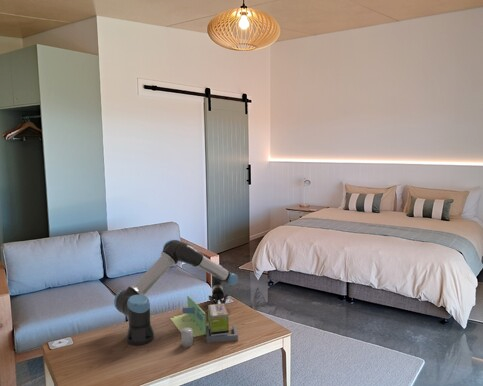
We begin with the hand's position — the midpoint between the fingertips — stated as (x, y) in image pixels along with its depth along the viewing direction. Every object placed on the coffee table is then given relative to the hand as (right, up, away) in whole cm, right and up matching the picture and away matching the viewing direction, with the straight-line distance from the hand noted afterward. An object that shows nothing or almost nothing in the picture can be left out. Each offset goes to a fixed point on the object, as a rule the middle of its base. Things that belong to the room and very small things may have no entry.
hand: (219, 307), depth 241 cm
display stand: (-19, -9, -6) cm, 22 cm away
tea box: (0, -10, -17) cm, 19 cm away
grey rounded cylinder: (-16, -12, -28) cm, 34 cm away
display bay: (+2, -10, -19) cm, 21 cm away
